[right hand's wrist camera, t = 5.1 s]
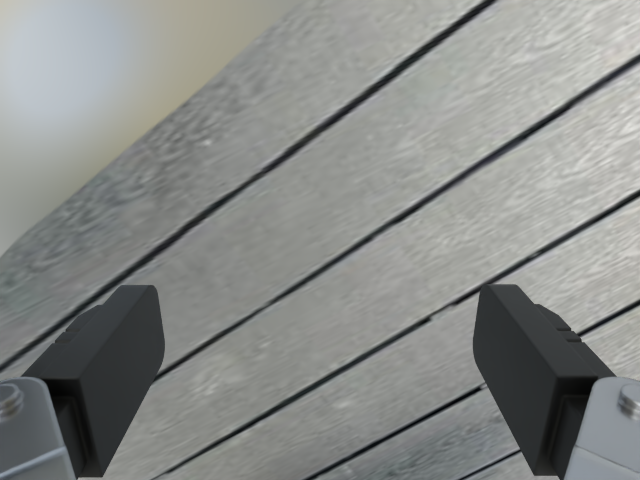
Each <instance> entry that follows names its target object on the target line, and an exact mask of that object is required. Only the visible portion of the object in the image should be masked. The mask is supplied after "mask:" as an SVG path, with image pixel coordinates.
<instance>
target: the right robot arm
mask: <svg viewBox="0 0 640 480" xmlns="http://www.w3.org/2000/svg"><path fill="white" fill-rule="evenodd" d="M164 351H165V340H164V333H163V326H162V319H161V312H160V305H159V299H158V293H157V290H156V288H155V287H154V286H153V285H121V286H120V287H118V289H117V290H116V291H115V292H114V293H113V294H112V295H111V296H110V297H109V299H108V300H107V301H106V302H105V303H104V304H103V305H97V306H95V307H94V308H92V309H90V310H88V311H87V312H85V313H83V314H81V315H80V316H78V317H77V318H76V319H75V320H74V321H73V322H72V323H71V325H70V326H69V327H68V328H67V329H66V332H63V333H62V334H61V335H60V336H59V337H58V338H57V339H56V340H55V343H52V344H51V345H50V346H49V348H48V349H47V350H46V351H45V352H44V353H43V354H42V355H41V356H40V357H39V358H38V359H37V360H36V361H35V362H34V363H33V364H32V365H31V366H30V367H29V368H28V369H27V371H26V372H25V373H24V374H23V375H22V376H21V377H16V378H10V379H6V380H2V381H0V480H77V479H78V477H103V475H104V473H105V471H106V469H107V467H108V466H109V464H110V462H111V460H112V458H113V456H114V454H115V452H116V450H117V448H118V447H119V445H120V443H121V441H122V439H123V437H124V435H125V433H126V431H127V429H128V428H129V426H130V424H131V422H132V420H133V418H134V416H135V414H136V412H137V410H138V409H139V407H140V405H141V403H142V401H143V399H144V397H145V395H146V393H147V391H148V390H149V388H150V386H151V384H152V382H153V380H154V378H155V376H156V374H157V372H158V371H159V369H160V367H161V365H162V362H163V358H164ZM473 353H474V358H475V362H476V364H477V367H478V369H479V370H480V372H481V374H482V376H483V378H484V380H485V382H486V384H487V386H488V388H489V390H490V392H491V394H492V395H493V397H494V399H495V401H496V403H497V405H498V407H499V409H500V411H501V413H502V415H503V417H504V419H505V420H506V422H507V424H508V426H509V428H510V430H511V432H512V434H513V436H514V438H515V440H516V442H517V444H518V445H519V447H520V449H521V451H522V453H523V455H524V457H525V459H526V461H527V463H528V465H529V467H530V469H531V470H532V472H533V474H534V476H558V477H559V479H560V480H640V381H638V380H634V379H630V378H624V377H617V376H616V375H615V374H614V373H613V372H612V371H611V370H610V369H609V368H608V367H607V366H606V365H605V364H604V363H603V362H602V361H601V360H600V359H599V357H598V356H597V355H596V354H595V353H594V352H593V351H592V350H591V349H590V348H589V347H588V346H587V345H586V344H585V343H584V342H582V341H581V338H580V337H579V336H578V335H577V334H576V333H575V332H574V331H571V328H570V327H569V326H568V325H567V324H566V323H565V322H564V321H563V319H562V318H561V317H560V316H559V315H557V314H555V313H554V312H552V311H550V310H548V309H547V308H545V307H543V306H542V305H540V304H534V303H533V302H532V301H531V300H530V299H529V298H528V297H527V295H526V294H525V293H524V292H523V291H522V290H521V289H520V288H519V287H518V286H517V285H514V284H485V285H483V286H482V288H481V291H480V295H479V302H478V309H477V316H476V322H475V329H474V336H473Z"/></svg>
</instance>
